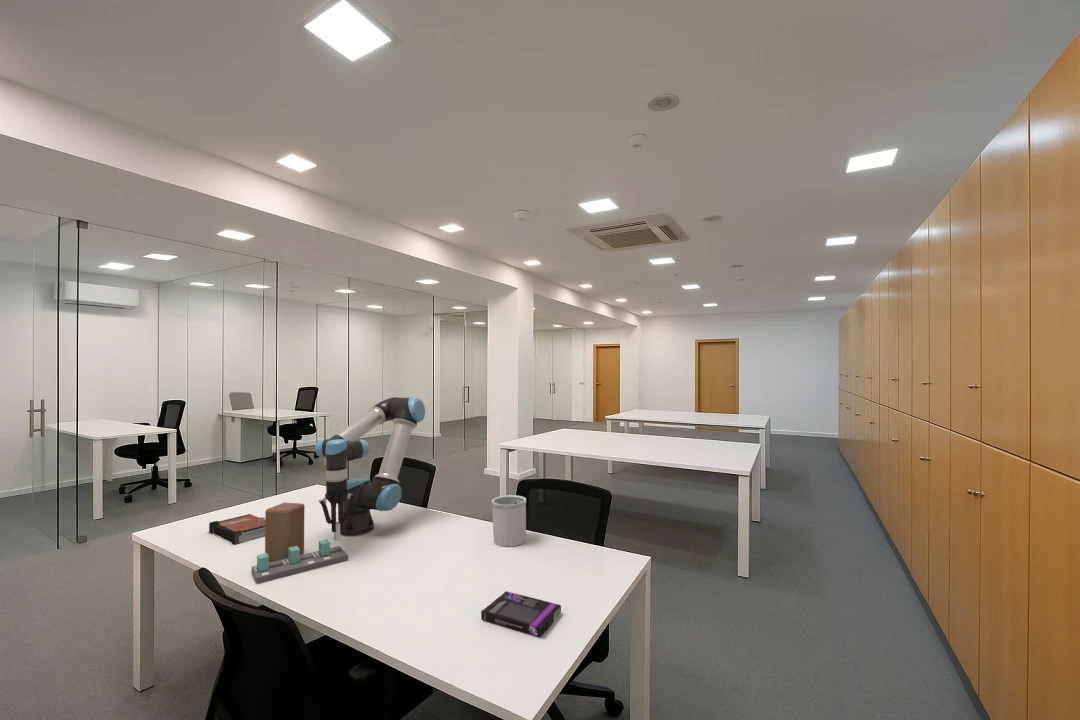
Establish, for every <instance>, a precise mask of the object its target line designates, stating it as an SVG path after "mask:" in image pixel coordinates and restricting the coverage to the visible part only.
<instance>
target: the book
mask: <svg viewBox="0 0 1080 720" xmlns="http://www.w3.org/2000/svg"><path fill="white" fill-rule="evenodd" d="M208 533H209V534H211V535H215V536H217V535H218V537H219V536H220V537H219V538H221V539H224V540H226V541H228V542H230V543H232V545H233V546H236V545H240V544H243V543H247V542H251V541H254V540H257V539H261V538H265V517H262V516H261V517H259V516H256V515H253V514H251V513H247V514H244V515H240V516H236V517H232V518H227V519H224V520H219V521H218V520H215V521H210V522H209V523H208ZM250 540H251V541H250Z"/></svg>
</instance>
